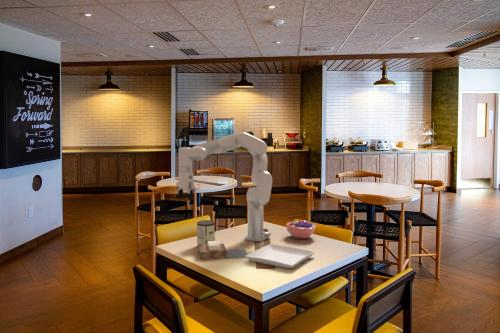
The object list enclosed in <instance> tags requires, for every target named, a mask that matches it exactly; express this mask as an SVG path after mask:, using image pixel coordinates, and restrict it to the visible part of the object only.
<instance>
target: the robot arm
mask: <svg viewBox="0 0 500 333" xmlns="http://www.w3.org/2000/svg"><path fill="white" fill-rule="evenodd" d="M240 147H241V148H244V149H246V150H247V151H248V153H250V154H251V156H252V159H253V163H252V164H253V166H252V170H251V177H250V179H251V182H252V184H254V185H255V186H253V187H250V188H249V189H248V190H247V191H246V203H247V235H245V237H244V239H245V240H246V241H249V242H261V241H262V242H263V241H265V240H266V239H267V237H266V236H268V237H270V236H272V232H268V231H264V206H265V205H267V204H268V203H269V202H270V198H271V194H272V192H271V191H272V188H273V176H272V174H271V173H270V172H268V164H269V163H268V162H269V160H268V155H267V152H268V145H267V143H266V142H265V141H263V140H262V139H259V138H257V137H255V136H254V135H251V134H249V133H248V132H245V131H244V132H243V131H242V132H241V131H239V132H234V133H231V134H229V135H225V136H223V137H220V138H216V139H213V140H209V141H206V142H203V143H200V144H198V145H194V146H192V147H188V146H187V147H186V146H183V147H182V146H181V147H179V148H178V175H177V182H176V189H177V195H178V196H177V198H178V199H179V200H180V199H184V191H185V190H186V191H187V201H188V202H191V201H192V202H193V200H194V192H195V189H196V186H195V178H194V173H193V161H194V160H195V161H203V160H205V159H206V158H207V156H209V155H213V154H223V153H226V152H229V151H231V150H236V149H238V148H240Z"/></svg>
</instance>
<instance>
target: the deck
mask: <svg viewBox="0 0 500 333" xmlns="http://www.w3.org/2000/svg"><path fill="white" fill-rule="evenodd" d="M220 245H221V250H209V248H208V244H204V245H198V247H197V250H198V257H199V261H200V260H201V261H203V260H204V261H205V260H218V259H219V260H223V259H228V255H227V250H228V249H226V246H225V243H220Z"/></svg>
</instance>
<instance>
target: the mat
mask: <svg viewBox="0 0 500 333" xmlns="http://www.w3.org/2000/svg"><path fill="white" fill-rule="evenodd" d="M226 250H227V259H245V258H246V259H248V258H247V257H246V255H248V254H249V253H248V251H247V250H246V248H236V249H235V248H233V249H232V248H231V249H226Z"/></svg>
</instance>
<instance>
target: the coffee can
mask: <svg viewBox="0 0 500 333" xmlns="http://www.w3.org/2000/svg"><path fill="white" fill-rule="evenodd" d="M215 224H216V222H215V221H213V220H211V219H210V220H199V221H197V222H196V235H197V236H196V237H197V238H196V239H197V240H196V242H197V244H196V245H197V246H196V247H197V248H198V245H204V244H208V241H216V230H215V229H216V228H215V226H216V225H215Z"/></svg>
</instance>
